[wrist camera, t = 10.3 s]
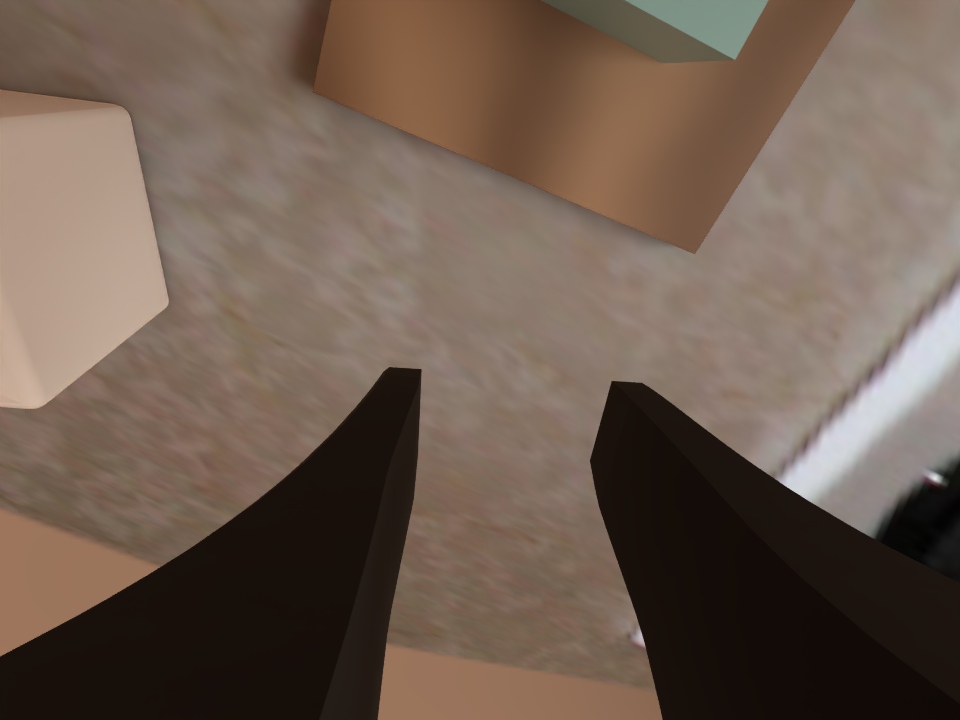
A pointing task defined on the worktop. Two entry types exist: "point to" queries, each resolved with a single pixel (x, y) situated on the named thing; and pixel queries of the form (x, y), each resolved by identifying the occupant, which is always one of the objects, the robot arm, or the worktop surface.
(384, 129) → the worktop surface
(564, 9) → the sage green cube
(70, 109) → the medicine bottle
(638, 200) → the board
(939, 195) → the worktop surface
